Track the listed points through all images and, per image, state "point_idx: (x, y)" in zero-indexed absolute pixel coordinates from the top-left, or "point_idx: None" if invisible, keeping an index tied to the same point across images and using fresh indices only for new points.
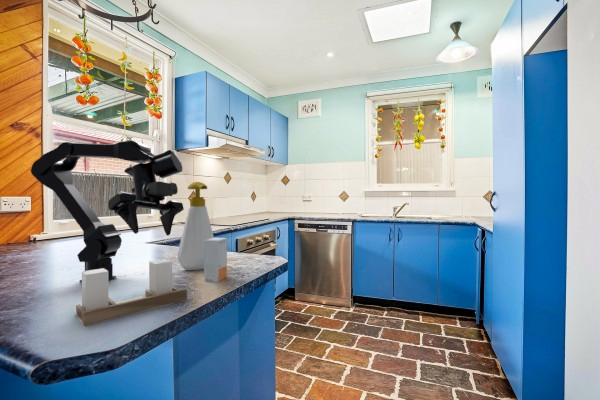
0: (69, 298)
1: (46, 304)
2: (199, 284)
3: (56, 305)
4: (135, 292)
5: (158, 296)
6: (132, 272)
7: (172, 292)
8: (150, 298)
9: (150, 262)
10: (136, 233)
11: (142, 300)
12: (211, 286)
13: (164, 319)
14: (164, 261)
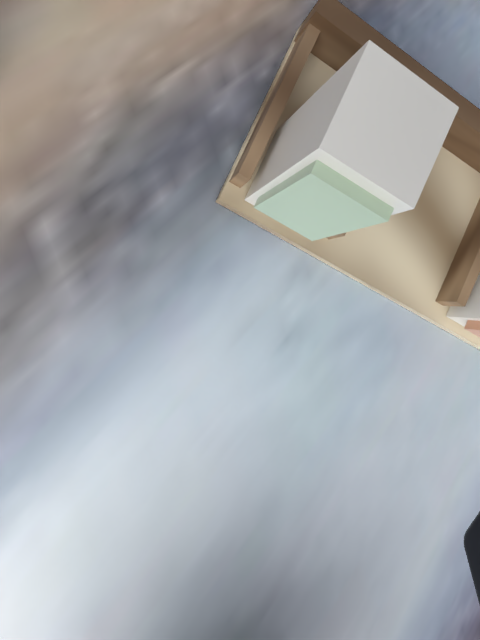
0: (393, 562)
1: (456, 562)
2: (17, 134)
3: (454, 517)
4: (256, 376)
5: (428, 74)
6: None
7: (382, 35)
8: (454, 93)
9: (423, 185)
10: (470, 528)
11: (476, 111)
12: (28, 33)
13: (449, 17)
14: (384, 98)
